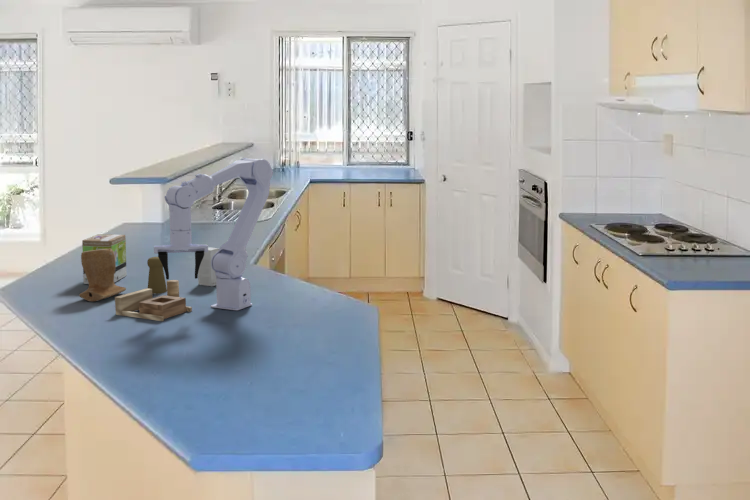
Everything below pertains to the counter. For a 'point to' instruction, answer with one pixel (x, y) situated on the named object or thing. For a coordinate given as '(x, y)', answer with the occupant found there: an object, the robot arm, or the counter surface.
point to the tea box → (106, 242)
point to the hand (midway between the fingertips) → (181, 278)
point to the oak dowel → (173, 288)
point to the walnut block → (163, 306)
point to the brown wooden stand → (99, 274)
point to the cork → (156, 276)
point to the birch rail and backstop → (136, 305)
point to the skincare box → (207, 269)
